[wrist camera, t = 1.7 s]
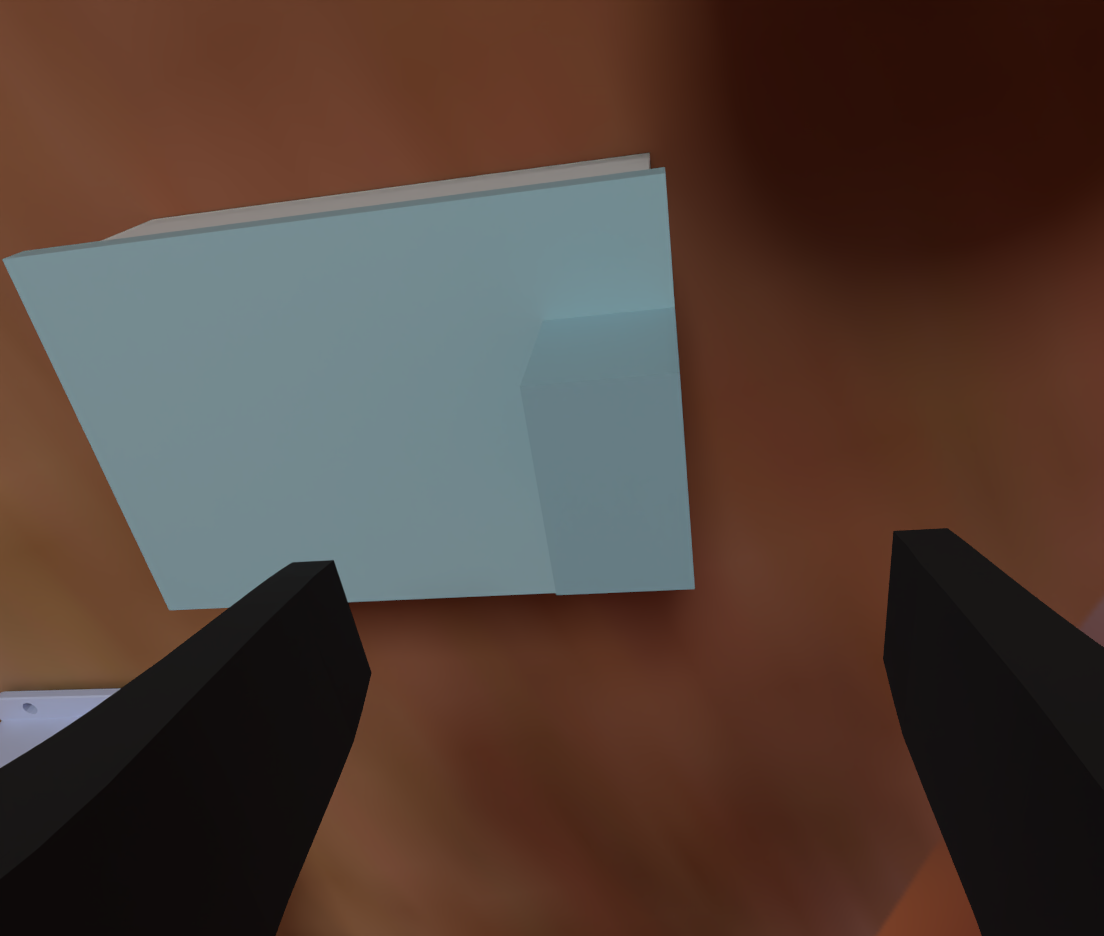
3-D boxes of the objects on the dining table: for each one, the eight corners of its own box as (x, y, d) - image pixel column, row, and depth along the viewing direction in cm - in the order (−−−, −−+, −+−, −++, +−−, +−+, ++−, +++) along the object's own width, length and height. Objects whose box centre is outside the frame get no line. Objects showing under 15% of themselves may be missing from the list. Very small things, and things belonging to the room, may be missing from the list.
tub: (257, 499, 23) (188, 584, 20) (152, 219, 19) (43, 264, 16) (674, 470, 21) (678, 559, 18) (649, 152, 17) (648, 187, 14)
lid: (197, 575, 21) (94, 702, 17) (50, 241, 16) (-131, 309, 13) (691, 549, 18) (701, 687, 15) (663, 159, 14) (668, 212, 11)
